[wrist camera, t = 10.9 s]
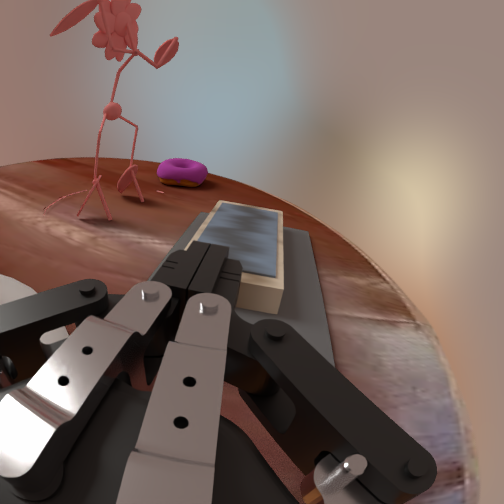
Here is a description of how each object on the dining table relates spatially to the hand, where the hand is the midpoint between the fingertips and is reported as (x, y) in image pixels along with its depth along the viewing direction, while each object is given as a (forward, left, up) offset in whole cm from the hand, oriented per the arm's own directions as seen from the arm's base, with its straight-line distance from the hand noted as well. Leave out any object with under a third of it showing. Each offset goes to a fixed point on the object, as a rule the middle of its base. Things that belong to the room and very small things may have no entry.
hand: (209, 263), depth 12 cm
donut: (-50, +10, -9) cm, 51 cm away
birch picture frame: (-8, +4, -7) cm, 11 cm away
